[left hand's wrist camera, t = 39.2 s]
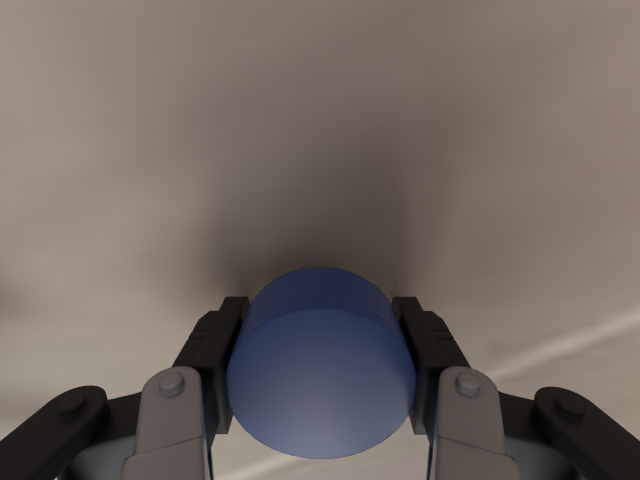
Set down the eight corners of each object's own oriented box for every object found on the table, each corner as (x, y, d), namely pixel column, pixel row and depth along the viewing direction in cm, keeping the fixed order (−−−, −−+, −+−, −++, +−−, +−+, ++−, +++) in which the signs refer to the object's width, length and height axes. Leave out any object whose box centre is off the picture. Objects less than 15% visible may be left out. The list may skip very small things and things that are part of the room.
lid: (366, 411, 12) (376, 475, 10) (228, 376, 12) (207, 436, 10) (423, 292, 11) (449, 339, 9) (264, 246, 10) (249, 283, 8)
